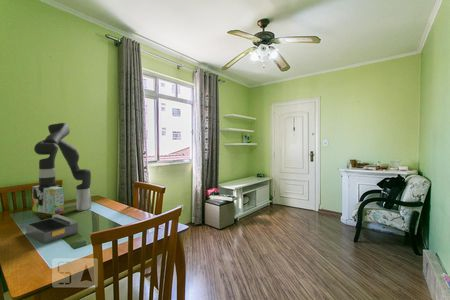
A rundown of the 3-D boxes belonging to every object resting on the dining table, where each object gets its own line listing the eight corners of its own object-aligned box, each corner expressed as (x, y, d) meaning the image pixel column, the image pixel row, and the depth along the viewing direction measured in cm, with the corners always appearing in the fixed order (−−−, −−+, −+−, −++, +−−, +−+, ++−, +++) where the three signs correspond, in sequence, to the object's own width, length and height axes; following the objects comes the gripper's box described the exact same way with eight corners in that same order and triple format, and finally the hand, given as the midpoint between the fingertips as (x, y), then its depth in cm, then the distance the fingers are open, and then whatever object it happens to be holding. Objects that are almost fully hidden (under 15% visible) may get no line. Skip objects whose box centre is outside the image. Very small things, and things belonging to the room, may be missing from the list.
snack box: (65, 212, 124) (64, 187, 123) (54, 215, 119) (53, 189, 118) (42, 208, 131) (41, 184, 130) (31, 211, 126) (30, 186, 125)
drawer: (58, 224, 140) (58, 213, 140) (78, 233, 127) (78, 220, 127) (26, 233, 126) (25, 221, 126) (44, 244, 113) (44, 230, 113)
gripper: (58, 174, 132) (59, 200, 133) (28, 177, 120) (29, 206, 120) (64, 175, 128) (64, 202, 129) (34, 178, 116) (34, 208, 116)
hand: (47, 204), depth 125 cm, fingers closed on snack box, 6 cm apart
